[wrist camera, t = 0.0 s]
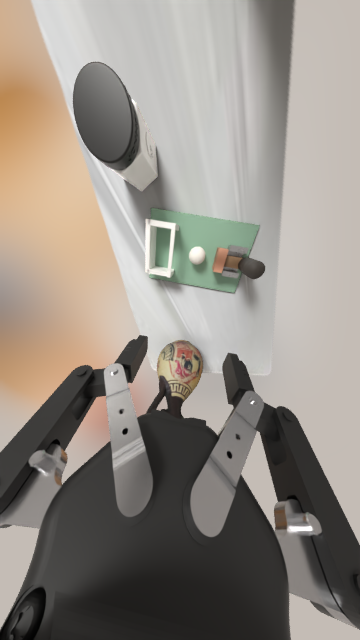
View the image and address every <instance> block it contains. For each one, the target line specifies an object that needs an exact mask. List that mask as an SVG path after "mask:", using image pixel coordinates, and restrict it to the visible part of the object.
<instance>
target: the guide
mask: <svg viewBox="0 0 360 640" xmlns="http://www.w3.org/2000/svg"><path fill="white" fill-rule="evenodd" d="M227 249H228V250H229V251H228V254H227V255H230V256H236V257H242V256H243V253H244V254H247V251H248V249H249V248H246V247H240V246H234V245H228V248H227ZM237 270H238V269H235V268H229V267H223V271H222V273H220V274H221V275H222V276H226V277H232V278H237V279H238V276H239V273H238V272H237Z"/></svg>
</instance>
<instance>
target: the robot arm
mask: <svg viewBox="0 0 360 640" xmlns="http://www.w3.org/2000/svg"><path fill="white" fill-rule="evenodd" d="M147 347H148V337H147V336H142V335H139V337H138V338H137V340H135V339H133V340H131V341H130V342H129V343H128V344H127V346H126V347H125V349H124V350H123V351H122V353H121V354H120V356H119V358H118V359H117V360H116V361H115V363H114V364H111V365H109V366H108V367H106V368H105V369H95V370H93V369H92V367H91V366H88V365H84V366H80V367H78V368H76V369H75V370H73V371H72V372H71V374H70V375H69V376H68V377H67V378H66V379H65V380H64V381H63V383H62V384H61V385H60V386H59V387H58V388H57V389H56V391H55V392H54V393H53V394H52V395H51V396H50V397H49V399H48V400H47V401H46V402H45V403H44V404H43V405H42V406H41V407H40V409H39V410H38V411H37V412H36V413H35V414H34V415H33V416H32V418H31V419H30V420H29V421H28V422H27V423H26V424H25V425H24V427H23V428H22V429H21V430H20V431H19V432H18V433H17V435H16V436H15V437H14V438H13V439H12V440H11V441H10V442H9V444H8V445H7V446H6V447H5V448H4V449H3V450H2V451H1V453H0V528H7V527H9V526H12V525H17V526H24V527H32V528H40V530H39V535H38V539H37V543H36V547H35V551H34V554H33V558H32V561H31V564H30V566H29V569H28V572H27V575H26V577H25V580H24V582H23V585H22V587H21V590H20V592H19V594H18V597H17V598H16V601H15V603H14V605H13V607H12V609H11V611H10V613H9V614H8V617H7V618H6V620H5V622H4V624H3V626H2V627H1V629H0V640H291V638H290V626H289V593H292V594H294V595H297V596H299V597H302V598H305V599H307V600H310V602H311V603H312V604H313V605H314V607H316V608H317V609H318V610H319V611H320V612H322V613H324V614H326V615H328V616H331V617H333V618H335V619H337V620H340V621H342V622H344V623H346V624H348V625H351V626H353V627H355V628H357V629H359V630H360V545H359V543H358V541H357V539H356V537H355V535H354V533H353V531H352V529H351V527H350V525H349V522H348V520H347V518H346V516H345V514H344V512H343V510H342V508H341V506H340V504H339V502H338V500H337V498H336V496H335V494H334V492H333V490H332V488H331V486H330V484H329V482H328V480H327V478H326V476H325V474H324V472H323V470H322V468H321V466H320V464H319V462H318V460H317V458H316V456H315V454H314V452H313V450H312V448H311V446H310V443H309V442H308V439H307V437H306V435H305V434H304V431H303V429H302V427H301V426H300V423H299V421H298V419H297V418H296V416H295V415H294V414H293V413H292V412H291V411H290V410H289V409H287V408H285V407H282V406H279V407H277V408H274V407H272V406H270V405H268V404H266V403H264V402H263V400H262V399H261V397H260V396H259V395H258V394H257V393H255V391H254V388H253V385H252V382H251V380H250V377H249V374H248V372H247V369H246V366H245V365H244V363H243V362H242V361H239V359H238V356H237V354H232V353H228V354H227V356H226V358H225V361H224V363H223V367H222V369H223V375H224V380H225V386H226V393H227V399H228V404H232V405H233V406H234V409H233V410H232V412H231V414H230V416H229V417H228V419H227V420H226V422H225V424H224V425H223V427H222V429H221V430H220V432H219V434H218V435H217V434H216V433H215V432H214V431H213V430H212V429H211V428H209V427H208V426H206V421H205V420H201V419H196V418H184V419H177V418H175V417H174V416H172V415H170V414H168V413H166V412H164V411H159V410H155V409H152V411H151V413H147V414H144V415H141V416H139V417H138V418H137V416H136V412H135V408H134V404H133V400H132V397H131V393H130V390H129V388H128V382H129V383H132V382H133V380H134V378H135V376H136V374H137V372H138V370H139V368H140V365H141V363H142V361H143V359H144V357H145V355H146V352H147ZM100 396H106V404H107V413H108V420H109V421H108V422H109V431H110V440H111V441H110V442H108V443H107V444H106V445H105V446H104V447H103V448H102V449H101V450H99V451H98V453H96V454H95V455H94V456H93V457H91V458H90V459H89V460H88V461H87V462H86V463H85V464H84V465H82V466H81V467H80V468H79V469H78V470H77V471H76V472H74V473H73V474H72V475H71V476H70V477H69V478H68V479H67V480H66V481H65V483H64V484H63V485H62V482H61V479H62V474H63V471H64V469H65V466H66V463H67V454H66V452H65V449H66V448H67V446H68V444H69V442H70V441H71V439H72V437H73V435H74V434H75V432H76V431H77V429H78V427H79V426H80V424H81V422H82V421H83V419H84V417H85V415H86V413H87V412H88V410H89V409H90V407H91V405H92V404H93V402H94V400H95V399H96V397H100ZM257 431H259V432H260V435H261V439H262V443H263V446H264V450H265V454H266V458H267V461H268V466H269V469H270V473H271V476H272V481H273V484H274V488H275V492H276V496H277V500H278V502H277V503H276V505H275V508H274V517H275V525H276V527H275V532H274V530H273V528H272V526H271V524H270V523H269V521H268V519H267V517H266V516H265V514H264V512H263V511H262V509H261V507H260V505H259V504H258V502H257V500H256V499H255V497H254V495H253V494H252V492H251V490H250V489H249V487H248V485H247V483H246V482H245V480H244V478H243V477H242V475H241V472H242V469H243V467H244V464H245V461H246V459H247V456H248V454H249V451H250V448H251V445H252V443H253V440H254V438H255V435H256V432H257Z"/></svg>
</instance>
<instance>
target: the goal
mask: <svg viewBox="0 0 360 640" xmlns="http://www.w3.org/2000/svg"><path fill="white" fill-rule="evenodd" d="M157 227H159V228H165V229H171V238H170V249H169V260H168V268H164V267H158V266H155V256H156V232H157ZM175 230H177V231H179V225H177V224H176V223H169V222H163V221H157V220H151V219H146V242H145V273H150V274H155V275H161V276H166V277H168V278H170V277H171V276H172V275H173V274H174V269H172V259H173V249H174V240H175Z"/></svg>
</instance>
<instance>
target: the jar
mask: <svg viewBox="0 0 360 640" xmlns="http://www.w3.org/2000/svg"><path fill="white" fill-rule="evenodd" d="M73 108H74V115H75V120H76V124H77V127H78V130H79V133H80V135H81V138H82V140H83V142H84V143H85V145H86V147H87V148H88V149H89V151H90V152H91V153H92V154H93V155H94V156H95V157H96V158H97V159H98V160H100V161H101V162H102V163H103V164H105V165H106V166H107V167H109V168H110V169H111V170H112V171H114V172H115V173H116V174H117V175H119V176H120V177H121V178H123V179H124V180H125V181H127V182H128V183H130V184H131V185H133V186H134V187H135V188H137V189H138V190H140V191H143V190H144V189H145V188H146V187H147V186H148V185H149V184H150V183H151V182H152V181H153V180H155V179H156V178H157V176H158V171H157V157H156V144H155V142H154V139H153V137H152V135H151V133H150V131H149V129H148V127H147V124H146V122H145V120H144V118H143V116H142V114H141V112H140V109H139V107H138V105H137V103H136V102H135V101H134V100H133V99H131V97H130V95H129V93H127V90H126V88H125V86H124V84H123V83H122V81H121V79H120V78H119V77H118V75H117V74H116V73H115V72H114V71H113V70H112V69H111V68H110V67H109V66H107V65H106V64H104V63H101V62H91V63H88V64H87V65H85V66H84V67H83V68H82V69H81V71H80V72H79V74H78V76H77V78H76V82H75V86H74V92H73Z"/></svg>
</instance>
